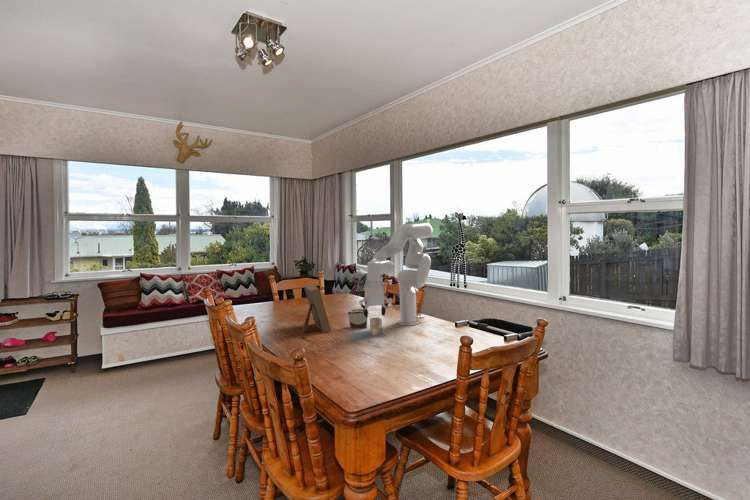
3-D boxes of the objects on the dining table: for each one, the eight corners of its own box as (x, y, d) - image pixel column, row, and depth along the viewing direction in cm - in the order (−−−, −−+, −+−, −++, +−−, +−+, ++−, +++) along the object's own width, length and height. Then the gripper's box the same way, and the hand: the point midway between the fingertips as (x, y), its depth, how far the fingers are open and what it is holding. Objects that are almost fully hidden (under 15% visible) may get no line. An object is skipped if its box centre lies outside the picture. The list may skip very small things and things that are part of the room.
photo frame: (321, 322, 234) (319, 282, 232) (331, 331, 214) (328, 287, 212) (297, 326, 229) (295, 284, 227) (304, 335, 208) (302, 290, 207)
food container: (370, 325, 225) (369, 308, 224) (369, 328, 218) (368, 310, 218) (349, 325, 226) (349, 308, 225) (347, 328, 220) (347, 311, 219)
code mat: (378, 329, 214) (378, 329, 214) (388, 336, 201) (388, 336, 201) (344, 334, 208) (344, 333, 208) (351, 341, 195) (351, 341, 195)
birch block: (379, 331, 210) (378, 317, 209) (382, 334, 205) (381, 319, 204) (370, 332, 208) (369, 318, 207) (373, 335, 203) (373, 320, 203)
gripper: (386, 282, 211) (387, 313, 212) (356, 284, 205) (357, 315, 206) (392, 284, 204) (392, 316, 205) (361, 285, 198) (361, 318, 199)
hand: (374, 315), depth 205 cm, fingers open, 9 cm apart
